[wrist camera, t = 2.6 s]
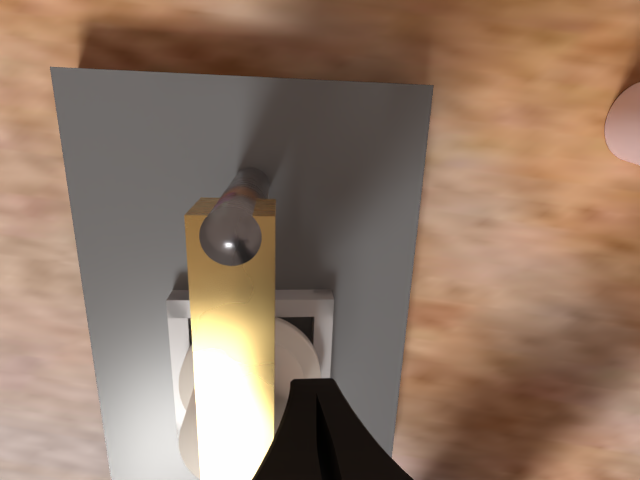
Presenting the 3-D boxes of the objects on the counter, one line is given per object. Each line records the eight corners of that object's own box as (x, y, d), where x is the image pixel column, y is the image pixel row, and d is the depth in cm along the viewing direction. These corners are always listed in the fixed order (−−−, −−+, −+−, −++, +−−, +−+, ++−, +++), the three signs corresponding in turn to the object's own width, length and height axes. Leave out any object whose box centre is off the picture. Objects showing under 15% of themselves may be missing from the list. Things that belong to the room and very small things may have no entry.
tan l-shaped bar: (275, 467, 20) (272, 642, 13) (234, 469, 20) (211, 648, 13) (277, 167, 16) (275, 207, 9) (225, 166, 16) (183, 206, 9)
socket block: (379, 455, 23) (393, 502, 21) (128, 466, 22) (105, 519, 19) (416, 88, 18) (443, 83, 15) (77, 72, 16) (33, 63, 13)
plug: (315, 408, 20) (326, 502, 15) (192, 412, 19) (163, 511, 14) (319, 299, 18) (333, 366, 13) (185, 300, 17) (149, 371, 13)
